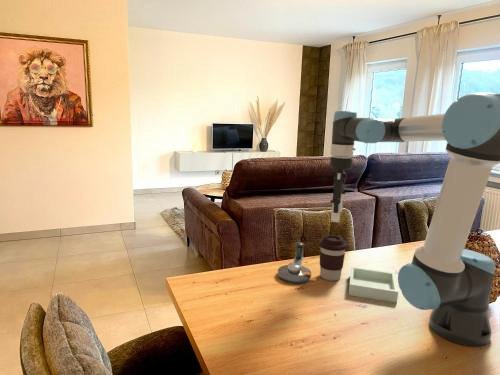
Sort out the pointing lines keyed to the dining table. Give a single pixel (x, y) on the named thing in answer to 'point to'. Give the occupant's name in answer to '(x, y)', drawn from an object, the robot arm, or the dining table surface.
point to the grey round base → (295, 275)
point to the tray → (373, 284)
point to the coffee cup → (332, 256)
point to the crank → (297, 259)
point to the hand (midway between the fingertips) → (336, 216)
